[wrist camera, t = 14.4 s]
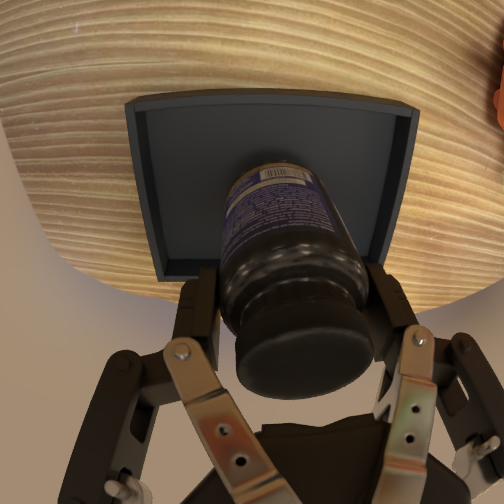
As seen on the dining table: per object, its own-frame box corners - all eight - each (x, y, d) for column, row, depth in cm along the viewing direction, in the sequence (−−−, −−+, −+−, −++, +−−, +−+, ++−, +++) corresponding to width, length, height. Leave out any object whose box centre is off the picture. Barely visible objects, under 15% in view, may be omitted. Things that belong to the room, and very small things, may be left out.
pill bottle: (206, 216, 19) (180, 383, 10) (265, 135, 16) (295, 276, 7) (286, 260, 21) (310, 416, 12) (347, 194, 18) (426, 345, 9)
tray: (164, 260, 25) (157, 282, 23) (138, 96, 17) (123, 104, 15) (370, 256, 25) (380, 277, 23) (402, 101, 17) (420, 110, 15)
